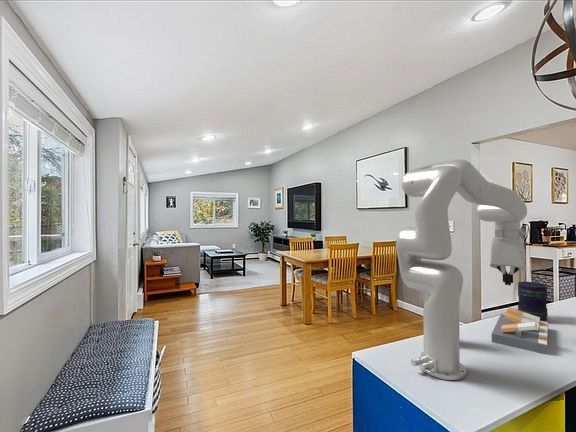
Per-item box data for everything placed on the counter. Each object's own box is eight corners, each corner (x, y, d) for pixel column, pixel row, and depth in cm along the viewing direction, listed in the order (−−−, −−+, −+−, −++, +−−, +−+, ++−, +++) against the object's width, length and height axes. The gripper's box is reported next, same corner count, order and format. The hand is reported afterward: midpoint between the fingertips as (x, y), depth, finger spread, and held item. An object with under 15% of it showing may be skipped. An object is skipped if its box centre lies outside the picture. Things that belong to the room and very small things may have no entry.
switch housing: (547, 354, 96) (547, 339, 96) (491, 341, 106) (491, 327, 106) (548, 329, 116) (548, 317, 116) (501, 321, 126) (500, 309, 126)
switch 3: (537, 331, 100) (534, 325, 101) (503, 334, 106) (500, 328, 107) (537, 327, 103) (535, 321, 104) (504, 330, 110) (502, 325, 110)
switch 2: (537, 332, 106) (538, 327, 106) (503, 320, 113) (505, 315, 112) (537, 328, 110) (539, 323, 109) (505, 316, 116) (506, 311, 116)
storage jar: (512, 317, 130) (512, 283, 130) (526, 313, 134) (526, 280, 134) (539, 324, 121) (539, 288, 121) (553, 321, 125) (552, 285, 125)
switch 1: (538, 325, 112) (539, 320, 112) (506, 314, 119) (507, 309, 118) (538, 322, 116) (539, 317, 115) (507, 311, 122) (508, 306, 122)
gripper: (534, 234, 107) (535, 285, 107) (484, 233, 117) (485, 279, 117) (533, 236, 101) (533, 290, 102) (481, 234, 111) (482, 283, 112)
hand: (508, 284), depth 109 cm, fingers closed
